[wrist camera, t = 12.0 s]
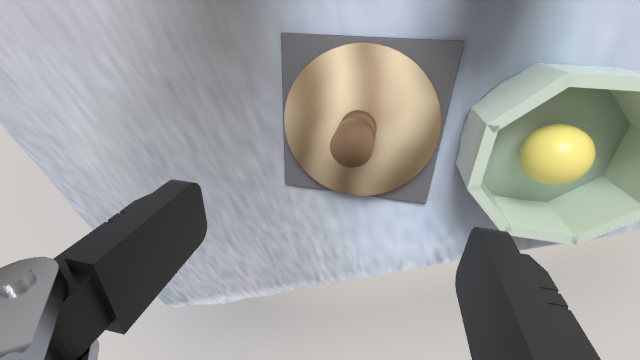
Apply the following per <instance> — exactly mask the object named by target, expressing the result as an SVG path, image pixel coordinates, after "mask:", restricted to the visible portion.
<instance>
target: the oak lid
mask: <svg viewBox="0 0 640 360" xmlns="http://www.w3.org/2000/svg"><path fill="white" fill-rule="evenodd" d="M284 125H285V133H286V137H287V141H288V144H289V147H290V149H291V151H292V153H293V155H294V157H295V159H296V160H297V162H298V163H299V164H300V166H301V167H302V168H303V169H304V170H305V171H306V172H307V173H308V174H309V175H310V176H311V177H312V178H313V179H315V180H316V181H317V182H319V183H320V184H322V185H324V186H326V187H328V188H330V189H332V190H334V191H338V192H341V193H344V194H350V195H359V196H367V195H376V194H381V193H385V192H389V191H391V190H394V189H396V188H398V187H400V186H402V185H404V184H405V183H407V182H408V181H410V180H411V179H412V178H414V177H415V176H416V175H417V174H418V173H419V172H420V171H421V170H422V169H423V168H424V166H425V165H426V164H427V162H428V161H429V159H430V158H431V156H432V154H433V152H434V150H435V148H436V145H437V142H438V139H439V134H440V128H441V112H440V105H439V101H438V98H437V94H436V92H435V90H434V88H433V85H432V83H431V82H430V80H429V79H428V77H427V76H426V74H425V72H424V71H423V70H422V69H421V68H420V67H419V66H418V65H417V64H416V63H415V62H414V61H413V60H412V59H410V58H409V57H408V56H406V55H404V54H403V53H401V52H400V51H397V50H395V49H393V48H390V47H388V46H384V45H380V44H374V43H353V44H347V45H343V46H340V47H337V48H334V49H331V50H329V51H327V52H325V53H323V54H321V55H320V56H318V57H317V58H315V59H314V60H313V61H312V62H310V63H309V64H308V65H307V66H306V67H305V68H304V69H303V70H302V72H301V73H300V74H299V75H298V77H297V78H296V80H295V82H294V83H293V85H292V87H291V90H290V92H289V94H288V98H287V101H286V106H285V112H284Z"/></svg>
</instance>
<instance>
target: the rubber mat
mask: <svg viewBox="0 0 640 360" xmlns="http://www.w3.org/2000/svg"><path fill="white" fill-rule="evenodd" d="M353 43H374V44H380V45H384V46H388V47H390V48H393V49H395V50H397V51H400V52H401V53H403V54H404V55H406V56H408V57H409V58H410V59H412V60H413V61H414V62H415V63H416V64H417V65H418V66H419V67H420V68H421V69H422V70H423V71H424V72H425V74H426V76H427V77H428V79H429V80H430V82H431V83H432V85H433V88H434V90H435V92H436V94H437V98H438V101H439V105H440V112H441V128H440V134H439V139H438V142H437V145H436V148H435V150H434V152H433V154H432V156H431V158H430V159H429V161H428V162H427V164H426V165H425V166H424V168H423V169H422V170H421V171H420V172H419V173H418V174H417V175H416V176H415V177H414V178H412V179H411V180H410V181H408V182H407V183H405V184H404V185H402V186H400V187H398V188H396V189H394V190H391V191H389V192H385V193H381V194H376V195H368V196H375V197H382V198H389V199H397V200H404V201H411V202H418V203H425V204H426V201H427V197H428V193H429V188H430V184H431V180H432V176H433V172H434V167H435V163H436V159H437V155H438V150H439V146H440V142H441V138H442V133H443V129H444V125H445V121H446V117H447V112H448V108H449V104H450V100H451V95H452V91H453V87H454V83H455V79H456V74H457V70H458V66H459V62H460V57H461V53H462V49H463V45H464V41H454V40H432V39H410V38H387V37H365V36H343V35H321V34H298V33H281V47H282V85H283V122H284V112H285V106H286V101H287V98H288V94H289V92H290V90H291V87H292V85H293V83H294V82H295V80H296V78H297V77H298V75H299V74H300V73H301V72H302V70H303V69H304V68H305V67H306V66H307V65H308V64H309V63H310V62H312V61H313V60H314V59H315V58H317V57H318V56H320V55H321V54H323V53H325V52H327V51H329V50H331V49H334V48H337V47H340V46H343V45H347V44H353ZM284 160H285V184H289V185H296V186H303V187H311V188H318V189H325V190H332V189H330V188H328V187H326V186H324V185H322V184H320V183H319V182H317V181H316V180H315V179H313V178H312V177H311V176H310V175H309V174H308V173H307V172H306V171H305V170H304V169H303V168H302V167H301V166H300V164H299V163H298V162H297V160H296V159H295V157H294V155H293V153H292V151H291V149H290V147H289V144H288V141H287V137H286V133H285V125H284ZM332 191H334V190H332Z"/></svg>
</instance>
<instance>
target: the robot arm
mask: <svg viewBox="0 0 640 360" xmlns="http://www.w3.org/2000/svg"><path fill="white" fill-rule="evenodd" d="M206 231H207V220H206V215H205V209H204V203H203V198H202V192H201V188H200V186H199V185H198V184H197V183H192V182H185V181H179V180H170V181H168V182H167V183H166V184H164V185H163V186H161V187H160V188H159V189H157V190H156V191H155V192H153V193H152V194H149V195H147V196H145V197H142V198H140V199H138V200H135V201H134V202H132V203H131V204H130V205H128V206H127V207H125V208H124V209H123V210H121V211H120V214H119V213H117V214H116V215H114V216H113V217H111V218H110V219H109V220H108V222H107V223H106V222H104V223H103V224H102V225H100V226H99V227H97V228H96V229H95V230H93V231H92V232H90V233H89V234H88V235H86V236H85V237H83V238H82V239H81V240H79V241H78V242H76V243H75V244H74V245H72V246H71V247H69V248H68V249H67V250H65V251H64V252H62V253H61V254H60V255H58V256H57V257H55V258H54V259H51V258H47V257H35V258H29V259H24V260H20V261H17V262H14V263H11V264H9V265H6V266H4V267H2V268H0V360H97V358H98V352H99V342H98V340H97V338H98V337H99V336H100V335H101V334H102V333H103V332H104V330H109V331H112V332H116V333H121V334H125V333H126V332H127V331H128V329H129V328H130V327H131V326H132V325H133V324H134V322H135V321H136V320H137V319H138V318H139V317H140V315H141V314H142V313H143V312H144V311H145V309H146V308H147V307H148V306H149V305H150V304H151V302H152V301H153V300H154V299H155V298H156V296H157V295H158V294H159V293H160V292H161V291H162V289H163V288H164V287H165V286H166V285H167V283H168V282H169V281H170V280H171V279H172V277H173V276H174V275H175V274H176V273H177V272H178V270H179V269H180V268H181V267H182V266H183V264H184V263H185V262H186V261H187V260H188V258H189V257H190V256H191V255H192V254H193V253H194V251H195V250H196V249H197V248H198V247H199V245H200V244H201V243H202V242H203V240H204V238H205V235H206ZM455 285H456V293H457V297H458V302H459V306H460V310H461V314H462V318H463V323H464V327H465V331H466V336H467V340H468V344H469V349H470V353H471V357H472V360H600V358H599V356H598V355H597V353H596V351H595V349H594V348H593V346H592V345H591V343H590V341H589V340H588V338H587V336H586V335H585V333H584V331H583V330H582V328H581V327H580V325H579V323H578V322H577V320H576V318H575V317H574V315H573V313H572V312H571V311H570V310H568V305H567V304H566V302H565V300H564V299H563V297H562V295H561V294H558V289H557V287H556V285H555V284H554V282H553V281H552V279H551V277H550V276H549V274H548V272H547V271H546V270H545V269H544V268H543V267H541V266H540V265H539V264H538V263H537V262H536V261H535V260H534V259H533V258H532V257H530V256H529V255H526V254H520V252H519V250H518V248H517V246H516V245H515V243H514V241H513V239H512V237H511V235H510V234H509V233H508V232H506V231H500V230H493V229H487V228H480V227H474V228H473V229H472V231H471V233H470V236H469V238H468V241H467V244H466V247H465V249H464V252H463V255H462V257H461V260H460V263H459V266H458V269H457V273H456V282H455Z"/></svg>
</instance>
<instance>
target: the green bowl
mask: <svg viewBox="0 0 640 360" xmlns="http://www.w3.org/2000/svg"><path fill="white" fill-rule="evenodd" d="M552 124H566V125H571V126H574V127H577V128H579V129H581V130H582V131H584V132H585V133H586V134H587V135H588V136H589V137H590V138H591V139H592V141H593V143H594V146H595V151H596V154H595V160H594V163H593V165H592V166H591V168H590V169H589V171H588V172H587V173H586V174H584V175H583V176H582V177H580V178H579V179H577V180H575V181H573V182H570V183H566V184H560V185H551V184H544V183H541V182H538V181H536V180H534V179H532V178H530V177H529V176H528V175H527V174H526V173H525V172H524V171H523V169H522V168H521V166H520V163H519V159H518V154H519V149H520V146H521V144H522V142H523V141H524V139H525V138H526V137H527V136H528V135H529V134H530V133H532V132H533V131H535V130H537V129H539V128H541V127H543V126H547V125H552ZM456 165H457V167H458V169H459V172H460V174H461V176H462V179H463V181H464V183H465V186H466V188H467V190H468V191H469V192H470V194H471V195H472V196H473V197H474V199H475V200H476V201H477V202H478V204H479V205H480V206H481V207H482V209H483V210H484V211H485V212H486V214H487V215H488V216H489V217H490V219H491V220H492V221H493V222H494V224H495V225H496V226H497V228H498V229H499V230H500V231H506V232H508V233H509V234H510V235H511V236H517V237H523V238H530V239H536V240H543V241H550V242H556V243H563V244H570V245H577V244H580V243H582V242H584V241H587V240H590V239H593V238H595V237H598V236H600V235H603V234H605V233H608V232H611V231H613V230H616V229H618V228H621V227H623V226H626V225H629V224H631V223H634V222H636V221H639V220H640V72H635V71H630V70H625V69H620V68H615V67H599V66H582V65H574V64H545V63H535V64H533V65H532V66H530V67H529V68H527V69H526V70H524V71H523V72H520V73H518V74H516V75H514V76H512V77H510V78H508V79H506V80H505V81H503V82H501V83H500V84H498V85H497V86H496V87H494V88H493V89H492V90H490V91H489V92H488V93H487V94H486V95H485V96H484V97H483V98H482V99H481V100H480V101H479V102H477V103H476V104H475V105H473V106H472V107H471V109H470V112H469V116H468V118H467V120H466V122H465V124H464V126H463V129H462V132H461V137H460V142H459V153H458V156H457V160H456Z"/></svg>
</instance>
